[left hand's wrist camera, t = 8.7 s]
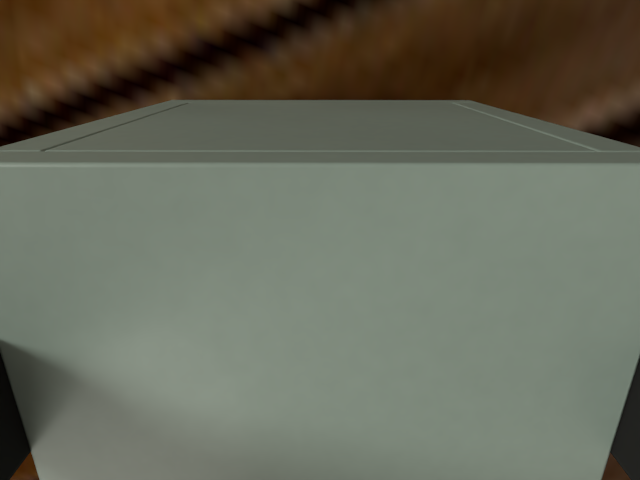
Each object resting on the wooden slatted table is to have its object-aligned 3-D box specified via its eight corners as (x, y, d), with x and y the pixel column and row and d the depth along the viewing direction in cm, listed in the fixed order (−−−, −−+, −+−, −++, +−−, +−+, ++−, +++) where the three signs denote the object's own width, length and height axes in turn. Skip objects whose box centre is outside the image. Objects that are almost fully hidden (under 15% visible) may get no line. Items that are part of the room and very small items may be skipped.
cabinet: (423, 500, 26) (496, 817, 15) (217, 500, 26) (142, 816, 15) (470, 100, 18) (703, 163, 7) (171, 99, 18) (-61, 162, 7)
